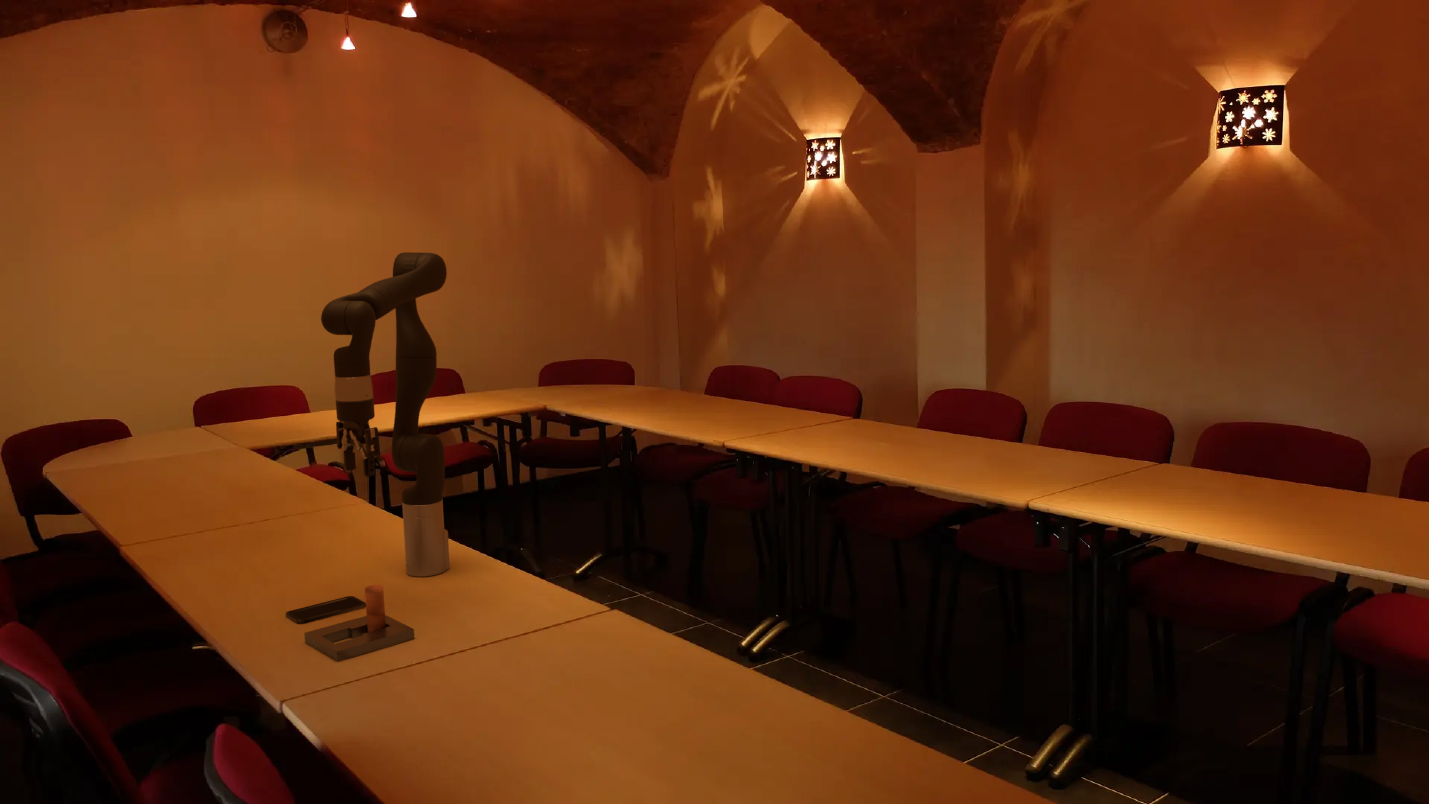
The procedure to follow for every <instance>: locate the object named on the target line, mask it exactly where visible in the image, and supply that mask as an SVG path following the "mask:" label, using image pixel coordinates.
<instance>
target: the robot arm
mask: <svg viewBox="0 0 1429 804" xmlns="http://www.w3.org/2000/svg"><path fill="white" fill-rule="evenodd" d="M445 262H446V261H445V260H444V259H443V258H442V256H440V255H439V254H438V253H437V254H436V253H433V252H410V251H409V252H400V253H398V254H397V255H396V257H395V258H394V262H393V267H392V276H390V277H388V278H384V279H380V280H378V281H376V282H375V281H374V282H373V283H371V284H368V286H366V287H364V288H363V289H360V290H359V291H358V292H355V293H354V292H353V293H351V294H347V295H343V296H340V297H337V298H335V299H333V300H331V301H329V302H328V303H327V304H326V305H325V307H323V308H322V311H321V315H320V319H321V320H320V322H321V324H322V326H323V329H324V330H325V331H327V332H328V333H329V334H332V335H336V336H351V340H350V342H349V345H345V346H342V347H341V346H340V347H338V348H336V349H335V350H334V352H333V367H334V399H335V410H336V411H335V413H336V419H337V421H336V422H335V428H336V447H337V449H338V450H341V453H342V454H343V464H344V470H345V471H347V472H348V471H355V470H356V469H357V465H356V452H355V450H357V451H359V452H360V454H361V457H362V462H363V463H362V466H363V476H365V477H366V478H370V477H374V476H375V475H376V464H375V460H376V459H375V458H377V457H378V456H379V457H380V456H381V447H380V436H379V429H378V427H377V426H375V427H370V423H369V422H370V420H373V419H374V418H375V416H376V414H375V403H374V401H375V400H374V387H373V382H372V376H371V365H370V364H371V363H370V361H371V360H370V355H371V347H372V341H373V337H374V332H375V328H376V324H377V323H376V322H377V321H378V320H380V319H381V318H383V317H384V316H386V315H388V314H389V313H390V312H392V311H394V310H395V329H396V330H395V407H394V411H395V412H394V421H393V422H394V423H393V431H392V439H391V457H392V462H393V465H394V466H395V468H396V469H397V470H399V471H402V472H404V473H405V472H407V473H415V474H416V482H415V484H413V485H411V486H408V487H405V488H404V489H403V490H402V492H401V501H402V502H401V505H402V519H403V536H404V537H403V538H404V554H405V555H404V556H405V557H404V558H405V570H406V571H405V572H406V574H407V575H409V576H413V577H430V576H437V575H439V574H442V573H444V572H446V571H447V570H450V569H451V566H450V547H449V544H450V543H449V532H448V529H445V522H444V520H445V519H444V517H445V516H444V503H443V502H444V500H443V493H444V488H445V484H446V483H445V482H446V481H445V480H446V477H445V475H446V474H445V473H446V472H445V471H446V469H445V468H446V467H445V466H446V465H445V463H446V459H445V458H446V457H445V455H446V453H445V447H444V444H443V441H442V440H441V438H440V437H438V436H437V435H435V434H429V433H419V419H420V413H421V409H422V408H423V407H422V406H423V405H424V402H425V400H426V399H427V397H428V396H429V394H430V393H431V390H432V389H433V387H434V385H435V382H436V380H437V370H438V369H437V367H438V363H437V362H438V361H437V357H438V356H437V354H438V353H437V348H436V344H435V343H434V340H433V339H432V337H431V335H430V333H429V332H428V330H427V328H426V326H425V325H424V323H423V322H422V320H421V318H420V317H421V316H420V315H419V311H418V308H417V307H418V306H417V299H418V298H420V297H423V296H426V295H428V294H432V293H435V292H438V291H439V290H441V289H442V288H443V286H444V285H445V284H446V280H447V274H448V273H447V271H448V270H447V266H446V263H445Z"/></svg>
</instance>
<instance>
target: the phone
mask: <svg viewBox="0 0 1429 804" xmlns="http://www.w3.org/2000/svg"><path fill="white" fill-rule="evenodd" d="M362 609H366V601H364V600H361V599H359V598H358V597H356V596H353V595H348V596H343V597H340V598H334V599H332V600H327V601H325V602H320V603H319V602H318V603H316V604H312V605H308V606H304V607H300V608H296V609H292V610H291V609H290V610H289V611H286V612H285V617H286V618H287V619H289V620H290V621H292V622H294V623H295V624H297V625H306V624H309V623H313V622H316V620H317V621H320V620H324V619H327V618H332V617H335V616H339V615H342V614H347V613H351V612H354V611H358V610H362Z"/></svg>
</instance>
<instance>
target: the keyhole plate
mask: <svg viewBox="0 0 1429 804" xmlns="http://www.w3.org/2000/svg"><path fill="white" fill-rule="evenodd" d="M385 621H386V628H382V629H379V630H375V631H372V632H368V628H367V615H364V616H361V617H355V618H353V619H350V620H349V619H348V620H346V621H342V622H338V623H334V624H331V625H328V626H324V627H321V628H320V627H319V628H317V629H313V630H310V631H305V632H304V633H303V635H304V643H305V644H307V645H308V646H310V647H312V648H314V649H315V650H317V651H318V652H320V653H322V654H324V655H325V656H327V657H329V658H331V659H332V660H334V661H335V662H337V663H338V662H342V661H344V660H345V661H346V660H348V659H352V658H355V657H359V656H361V655H364V654H365V655H366V654H369V653H371V652H374V651H378V650H381V649H384V648H388V647H392V646H395V645H398V644H401V643H406V642H408V641H410V640H414V639H415V628H413V627H410V626H409V625H407V624H405V623H402V622H401V621H398V620H397V619H394V618H392V617H390V616H388V615H387V614H385ZM349 638H350V639H349ZM345 639H347V640H345ZM342 640H343V641H342ZM336 642H337V643H336Z"/></svg>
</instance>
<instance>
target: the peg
mask: <svg viewBox="0 0 1429 804" xmlns="http://www.w3.org/2000/svg"><path fill="white" fill-rule="evenodd" d="M364 594H365V595H364V597H365V603H366V607H365V611H366V612H365V613H366V616H367V628H368V632H372V631H375V630H379V629H382V628H386V621H385V615H386V608H385V595H384V594H385V592H384V585H381V584H373V585H368V586H366V587H365V588H364Z"/></svg>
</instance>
